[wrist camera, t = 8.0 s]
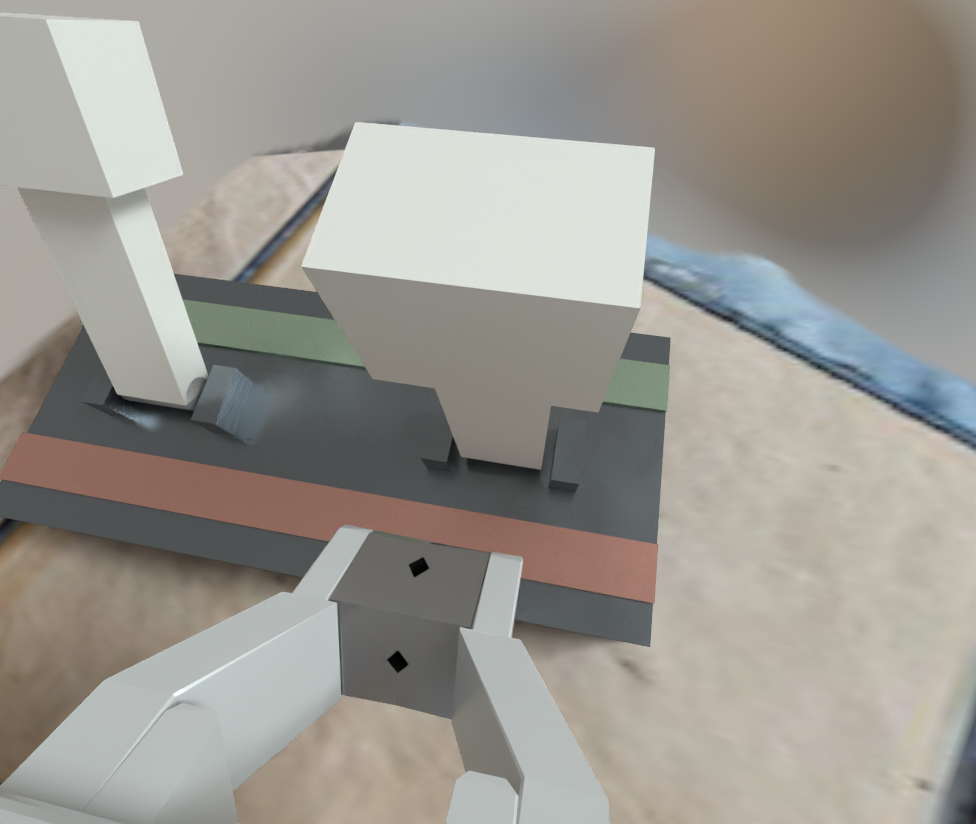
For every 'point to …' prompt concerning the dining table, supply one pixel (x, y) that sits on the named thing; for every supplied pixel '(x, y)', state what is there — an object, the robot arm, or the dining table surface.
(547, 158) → the lever
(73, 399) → the breaker box
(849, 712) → the dining table surface
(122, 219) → the on lever
